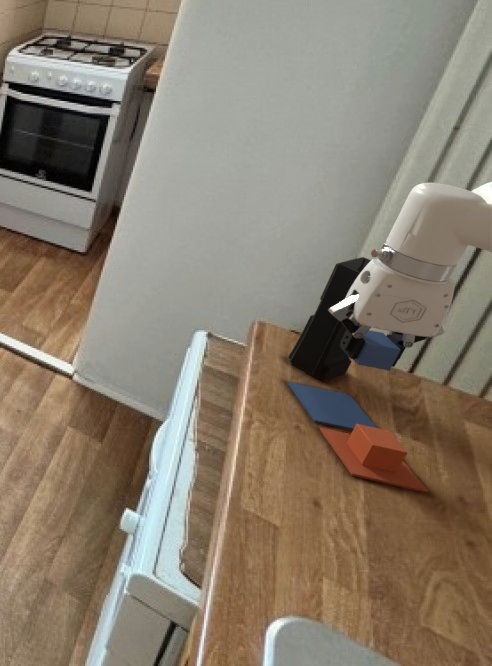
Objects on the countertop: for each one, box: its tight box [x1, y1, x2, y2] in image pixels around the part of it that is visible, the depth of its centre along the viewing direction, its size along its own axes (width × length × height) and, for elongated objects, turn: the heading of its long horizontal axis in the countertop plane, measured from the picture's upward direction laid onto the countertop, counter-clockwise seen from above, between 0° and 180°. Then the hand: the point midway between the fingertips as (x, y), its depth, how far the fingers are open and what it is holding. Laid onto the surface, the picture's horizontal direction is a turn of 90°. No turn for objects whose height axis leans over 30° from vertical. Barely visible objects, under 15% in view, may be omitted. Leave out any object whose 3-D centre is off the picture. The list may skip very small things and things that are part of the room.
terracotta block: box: [347, 424, 408, 473], centre depth 92 cm, size 4×4×4 cm
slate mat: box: [287, 381, 377, 431], centre depth 103 cm, size 9×9×1 cm
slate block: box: [352, 329, 400, 371], centre depth 97 cm, size 4×4×4 cm
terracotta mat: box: [319, 427, 429, 494], centre depth 93 cm, size 9×9×1 cm
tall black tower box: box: [288, 256, 372, 382], centre depth 107 cm, size 8×6×25 cm
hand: (366, 356), depth 97 cm, fingers closed on slate block, 4 cm apart
